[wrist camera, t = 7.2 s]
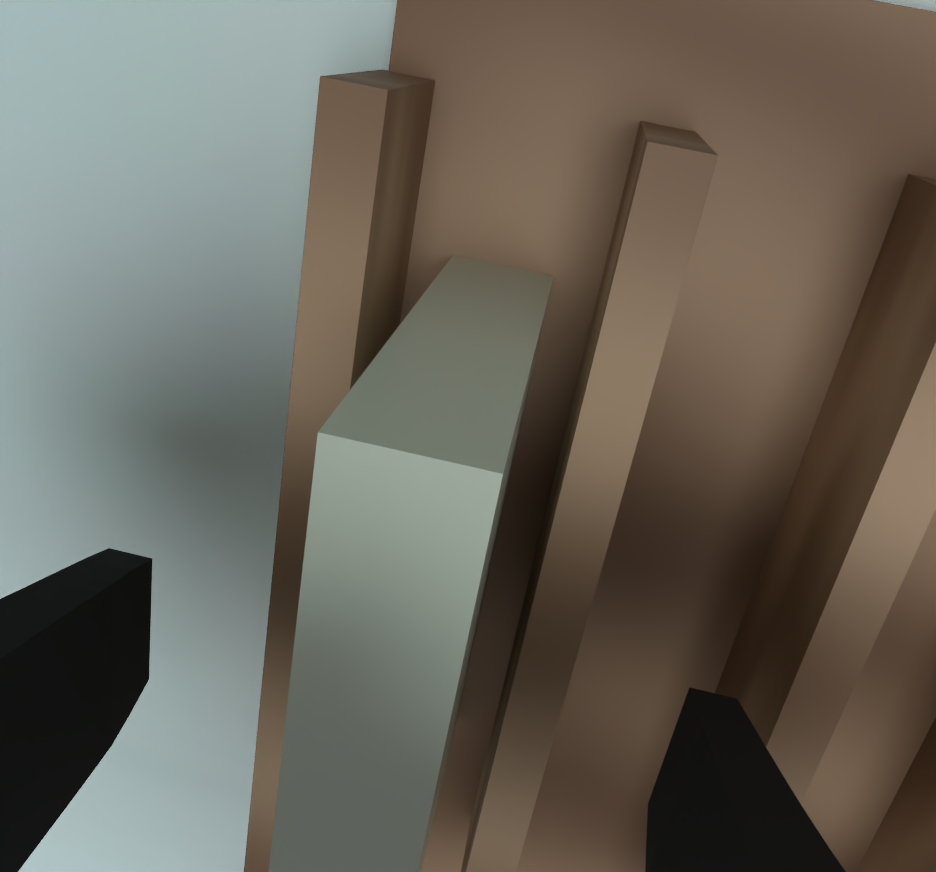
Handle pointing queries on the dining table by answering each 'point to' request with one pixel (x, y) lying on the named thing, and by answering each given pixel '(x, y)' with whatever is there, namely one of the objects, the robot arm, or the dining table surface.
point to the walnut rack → (657, 401)
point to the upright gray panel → (401, 570)
